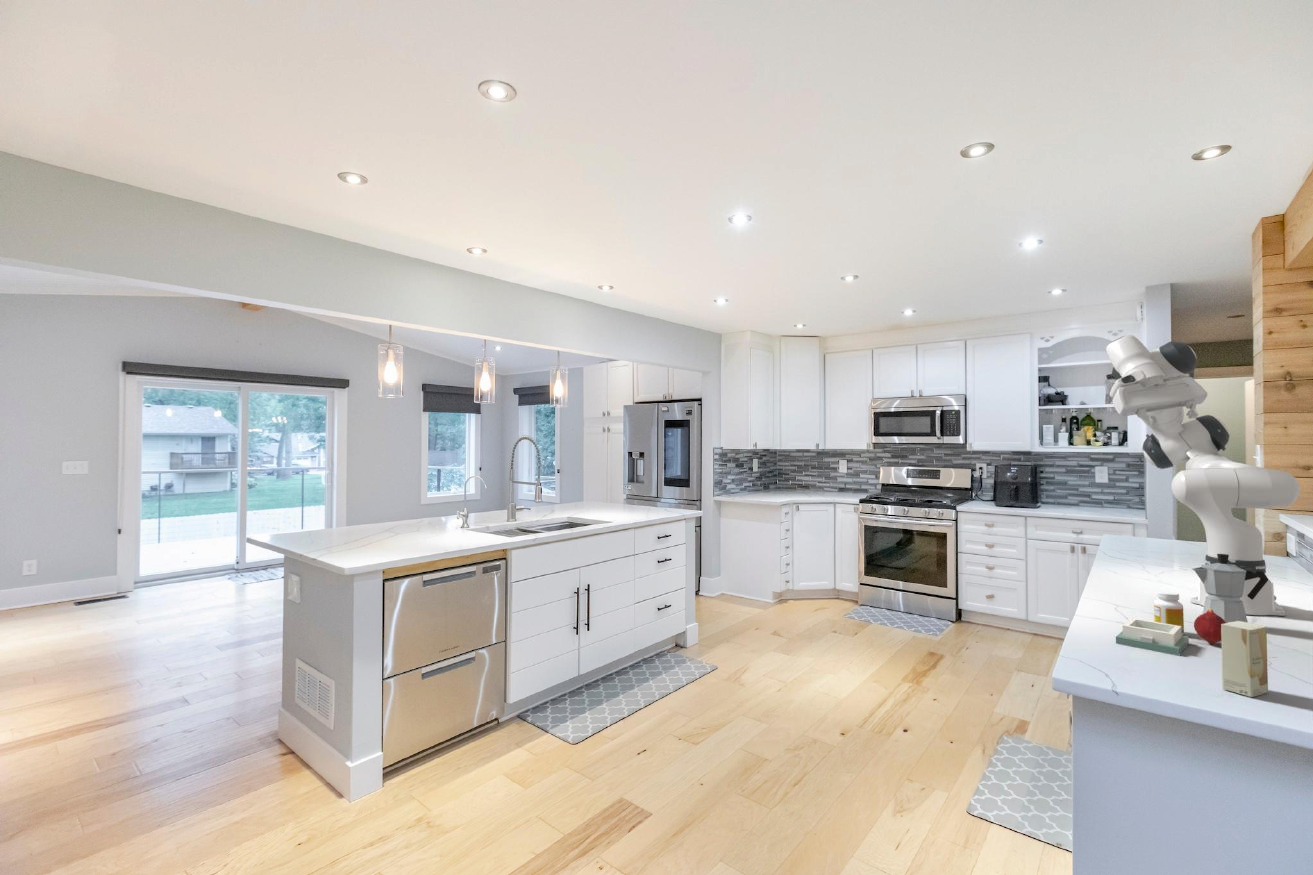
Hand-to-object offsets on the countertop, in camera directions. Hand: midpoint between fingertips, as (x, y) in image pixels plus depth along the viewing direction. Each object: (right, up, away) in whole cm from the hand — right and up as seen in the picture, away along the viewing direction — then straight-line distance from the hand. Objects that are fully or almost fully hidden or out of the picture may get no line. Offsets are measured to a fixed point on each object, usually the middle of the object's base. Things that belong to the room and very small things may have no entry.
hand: (1173, 420), depth 156 cm
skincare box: (-28, -52, -47) cm, 75 cm away
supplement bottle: (-12, -52, -13) cm, 55 cm away
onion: (-10, -52, -21) cm, 57 cm away
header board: (-23, -52, -20) cm, 60 cm away
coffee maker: (+7, -52, -8) cm, 53 cm away
